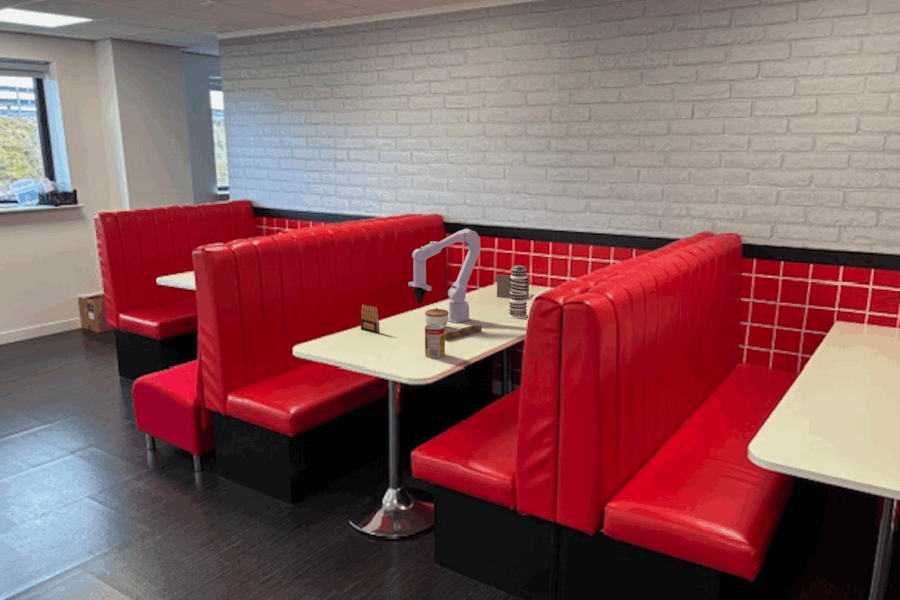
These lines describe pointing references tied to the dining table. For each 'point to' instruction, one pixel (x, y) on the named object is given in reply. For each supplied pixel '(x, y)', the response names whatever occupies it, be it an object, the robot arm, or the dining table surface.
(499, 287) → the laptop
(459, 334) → the walnut rail
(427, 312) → the lidded jar
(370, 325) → the ammunition clip
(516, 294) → the decorative candle
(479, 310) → the dining table surface
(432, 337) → the canned food
